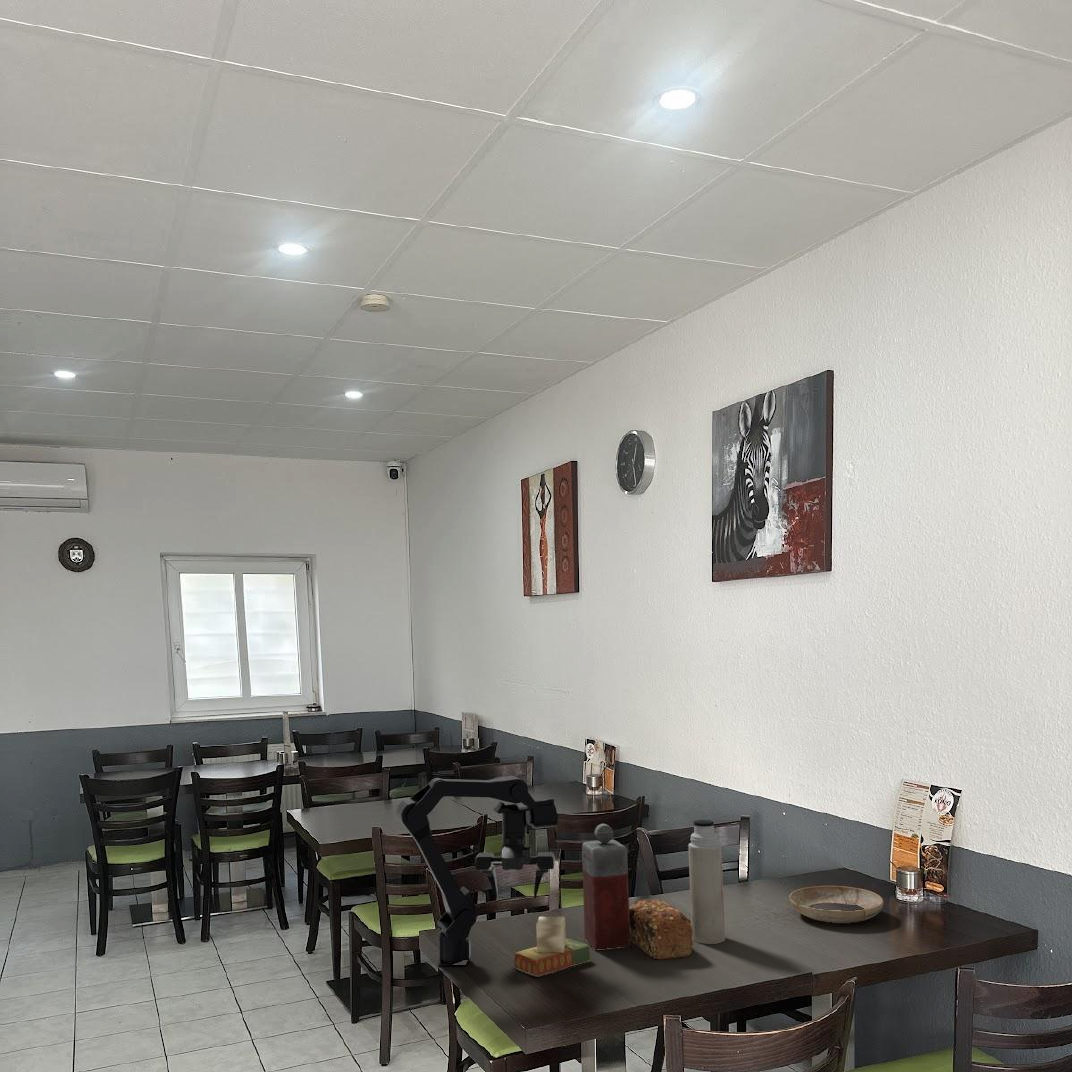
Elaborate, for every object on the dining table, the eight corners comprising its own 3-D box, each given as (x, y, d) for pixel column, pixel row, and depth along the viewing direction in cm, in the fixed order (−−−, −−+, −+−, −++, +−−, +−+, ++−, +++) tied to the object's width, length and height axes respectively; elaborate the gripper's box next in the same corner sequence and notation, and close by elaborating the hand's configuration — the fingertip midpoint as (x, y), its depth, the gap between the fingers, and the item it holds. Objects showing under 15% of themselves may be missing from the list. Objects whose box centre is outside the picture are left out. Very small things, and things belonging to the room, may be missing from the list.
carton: (513, 971, 212) (513, 951, 213) (567, 954, 222) (566, 935, 223) (537, 980, 206) (536, 960, 206) (591, 963, 216) (590, 943, 217)
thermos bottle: (725, 934, 233) (720, 817, 236) (725, 944, 225) (720, 824, 228) (692, 933, 235) (688, 817, 237) (691, 943, 227) (686, 823, 230)
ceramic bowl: (781, 904, 257) (780, 885, 258) (868, 903, 257) (867, 884, 257) (801, 931, 234) (800, 910, 235) (897, 929, 234) (896, 909, 234)
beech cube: (537, 952, 212) (536, 924, 212) (539, 943, 218) (539, 916, 218) (563, 952, 211) (562, 924, 212) (565, 943, 217) (565, 916, 218)
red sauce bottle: (615, 933, 236) (612, 818, 239) (630, 947, 225) (626, 826, 228) (581, 936, 234) (578, 820, 237) (594, 951, 223) (591, 829, 226)
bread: (694, 957, 217) (693, 912, 218) (651, 962, 215) (649, 917, 216) (664, 933, 235) (662, 891, 236) (623, 937, 233) (622, 895, 234)
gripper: (471, 838, 218) (472, 908, 217) (551, 837, 217) (553, 907, 216) (477, 828, 229) (478, 894, 228) (553, 827, 228) (555, 894, 227)
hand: (515, 898), depth 224 cm, fingers open, 9 cm apart
